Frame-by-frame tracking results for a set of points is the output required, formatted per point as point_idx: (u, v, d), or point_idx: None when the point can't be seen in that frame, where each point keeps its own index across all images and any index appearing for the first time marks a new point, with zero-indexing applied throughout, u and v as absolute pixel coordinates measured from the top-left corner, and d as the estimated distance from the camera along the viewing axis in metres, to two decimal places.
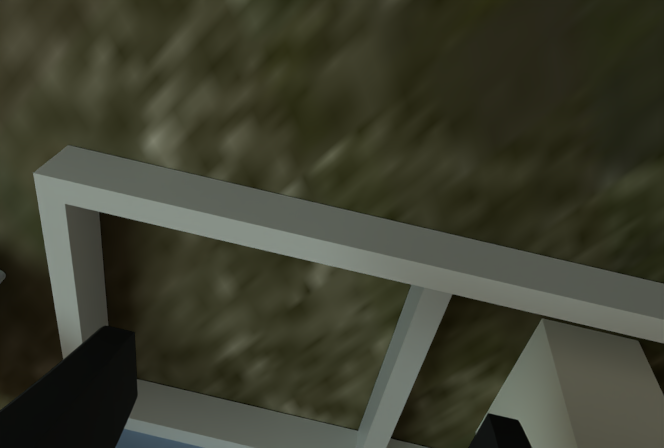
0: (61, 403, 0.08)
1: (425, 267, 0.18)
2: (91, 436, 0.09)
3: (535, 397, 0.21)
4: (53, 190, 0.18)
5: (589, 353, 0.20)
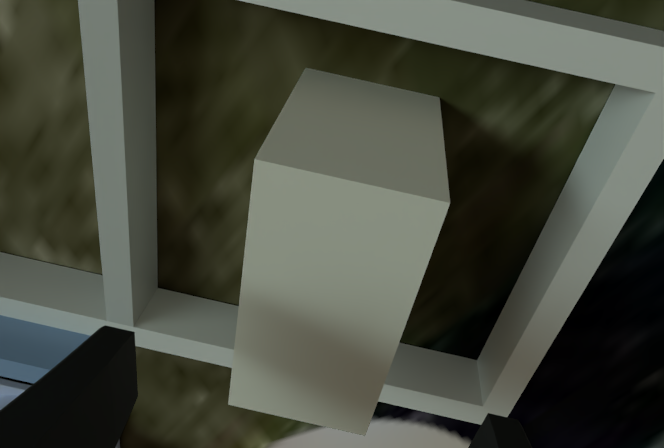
0: (61, 403, 0.08)
1: None
2: (91, 436, 0.09)
3: None
4: None
5: (353, 96, 0.14)
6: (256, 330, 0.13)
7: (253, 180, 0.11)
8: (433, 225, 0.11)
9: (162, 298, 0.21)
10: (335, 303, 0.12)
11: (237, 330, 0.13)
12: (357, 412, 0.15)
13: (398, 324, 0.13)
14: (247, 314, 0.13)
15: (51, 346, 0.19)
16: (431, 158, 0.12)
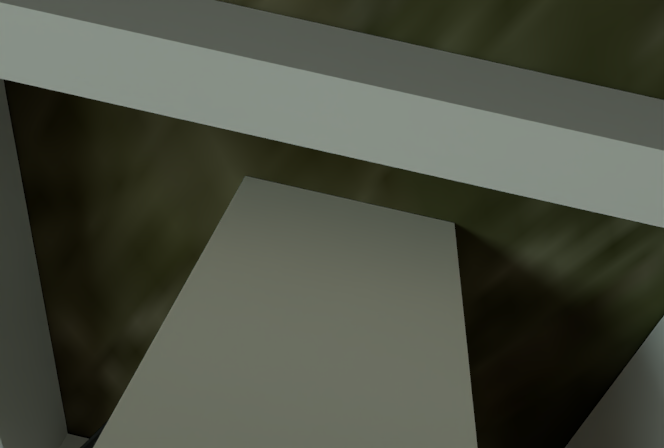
0: None
1: None
2: None
3: None
4: None
5: (314, 239, 0.09)
6: None
7: None
8: None
9: None
10: None
11: None
12: None
13: None
14: None
15: None
16: (447, 407, 0.06)
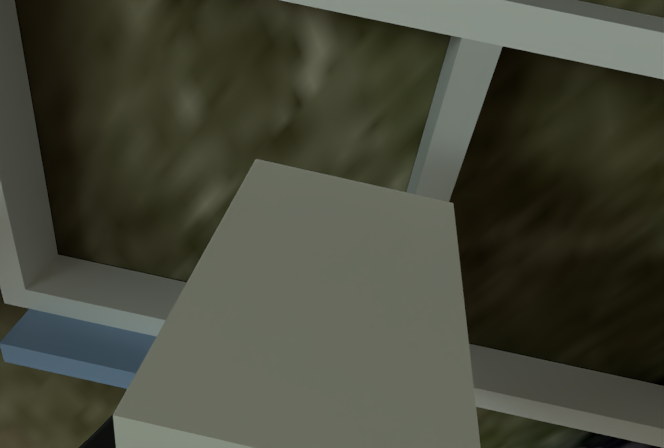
0: None
1: None
2: None
3: None
4: None
5: (322, 215, 0.09)
6: None
7: (117, 442, 0.06)
8: None
9: None
10: None
11: None
12: None
13: None
14: None
15: None
16: (447, 360, 0.07)
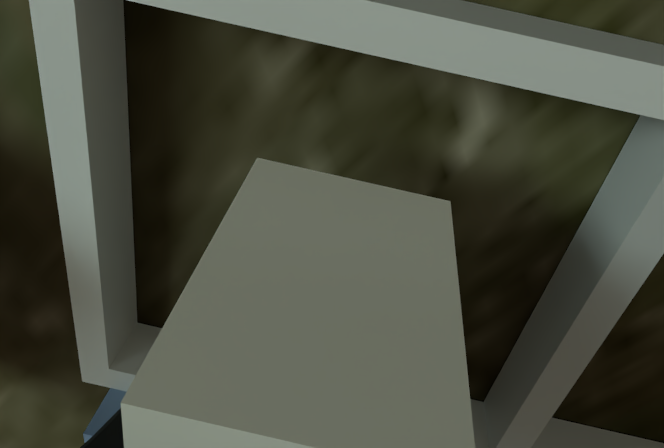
0: None
1: None
2: None
3: None
4: None
5: (321, 213, 0.10)
6: None
7: (125, 429, 0.06)
8: None
9: None
10: None
11: None
12: None
13: None
14: None
15: None
16: (443, 353, 0.07)
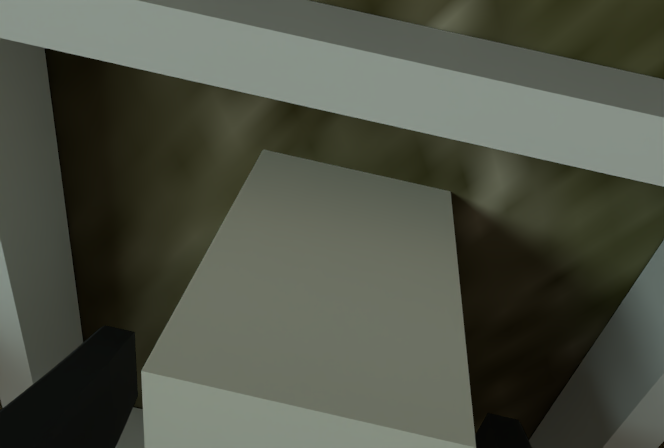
0: (61, 403, 0.08)
1: None
2: (91, 436, 0.09)
3: None
4: None
5: (327, 200, 0.10)
6: None
7: (144, 397, 0.07)
8: None
9: None
10: None
11: None
12: None
13: None
14: None
15: None
16: (443, 330, 0.08)
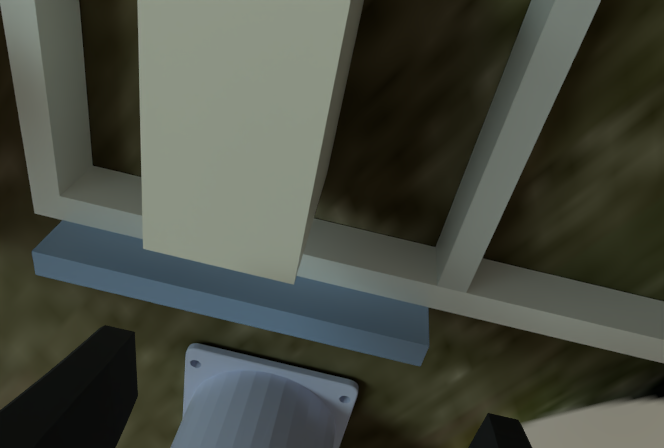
0: (61, 403, 0.08)
1: None
2: (91, 436, 0.09)
3: None
4: None
5: None
6: (162, 142, 0.12)
7: None
8: None
9: None
10: (245, 99, 0.11)
11: (142, 144, 0.12)
12: (283, 252, 0.13)
13: (317, 126, 0.11)
14: (150, 120, 0.12)
15: (378, 312, 0.18)
16: None
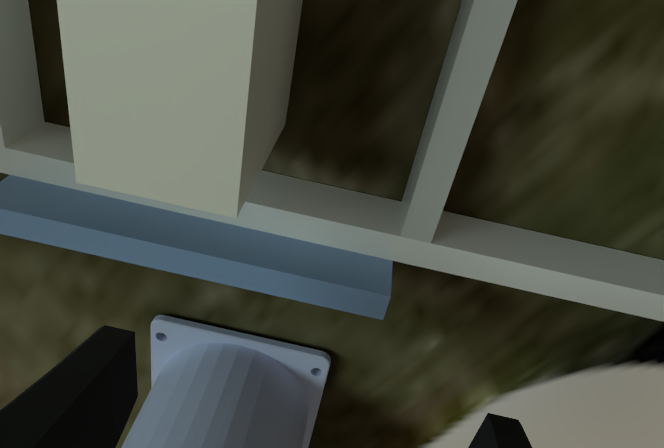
0: (61, 403, 0.08)
1: None
2: (91, 436, 0.09)
3: None
4: None
5: None
6: (85, 55, 0.11)
7: None
8: None
9: (441, 217, 0.18)
10: (168, 1, 0.10)
11: (64, 58, 0.11)
12: (222, 181, 0.12)
13: (246, 29, 0.10)
14: (70, 30, 0.11)
15: (339, 264, 0.17)
16: None
